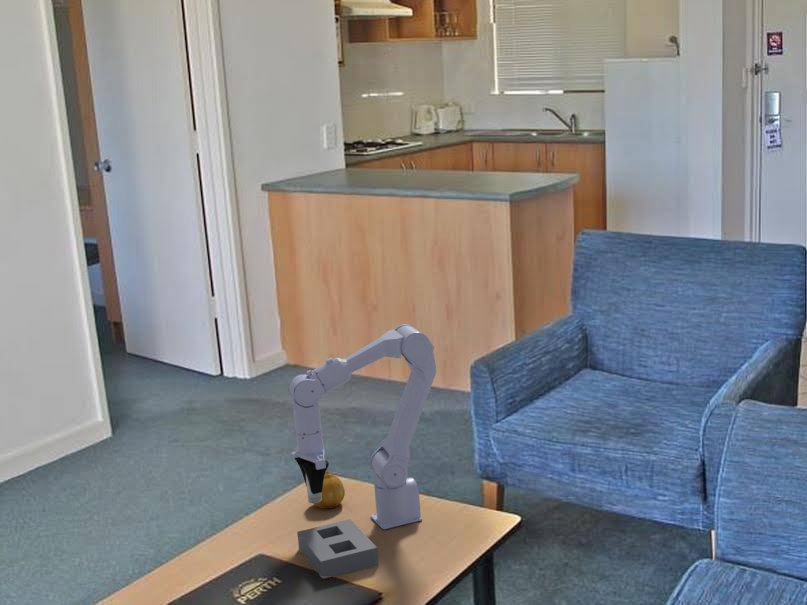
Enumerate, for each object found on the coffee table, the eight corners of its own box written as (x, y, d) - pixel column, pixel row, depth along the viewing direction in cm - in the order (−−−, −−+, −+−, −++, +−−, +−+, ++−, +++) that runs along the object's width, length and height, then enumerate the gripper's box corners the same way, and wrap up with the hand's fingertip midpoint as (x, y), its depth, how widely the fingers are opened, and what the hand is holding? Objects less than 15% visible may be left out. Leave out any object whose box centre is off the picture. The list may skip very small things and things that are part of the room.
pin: (319, 496, 230) (316, 466, 228) (323, 501, 227) (321, 471, 226) (306, 499, 229) (303, 469, 227) (310, 504, 226) (307, 474, 225)
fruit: (336, 484, 251) (320, 462, 247) (356, 495, 245) (341, 474, 241) (312, 509, 248) (297, 488, 244) (333, 521, 242) (317, 500, 238)
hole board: (351, 536, 227) (350, 519, 227) (378, 565, 213) (376, 547, 212) (298, 549, 223) (297, 531, 222) (322, 580, 209) (320, 561, 208)
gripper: (281, 424, 230) (287, 482, 233) (300, 444, 216) (306, 505, 219) (311, 418, 232) (317, 476, 235) (332, 437, 219) (338, 498, 222)
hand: (314, 489), depth 227 cm, fingers closed on pin, 3 cm apart
